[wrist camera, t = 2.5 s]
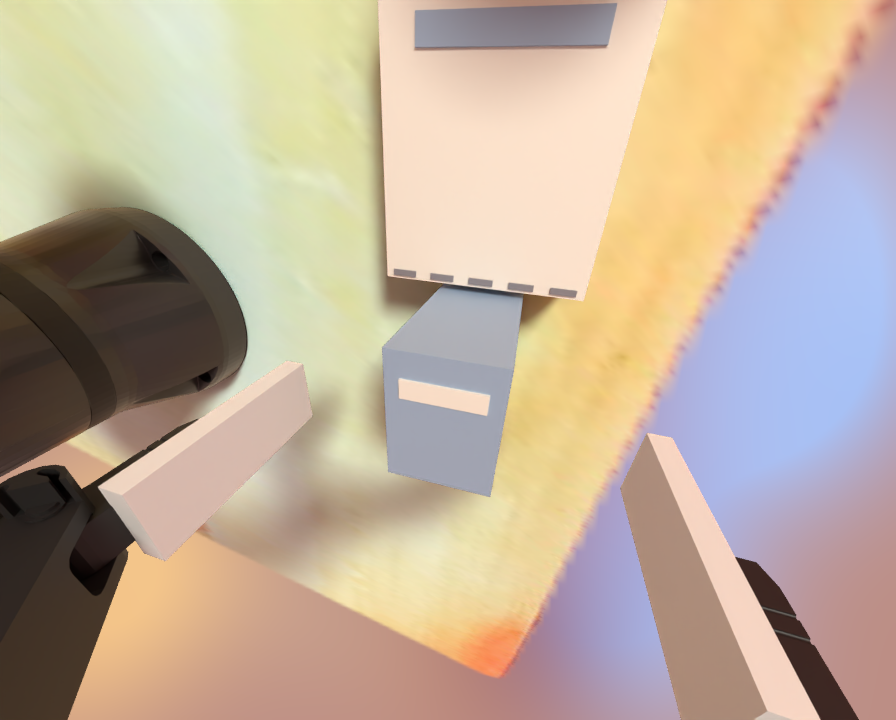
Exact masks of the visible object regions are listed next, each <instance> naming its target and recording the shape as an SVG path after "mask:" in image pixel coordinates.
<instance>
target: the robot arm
mask: <svg viewBox="0 0 896 720" xmlns="http://www.w3.org/2000/svg"><path fill="white" fill-rule="evenodd" d="M245 351H246V329H245V324H244V320H243V316H242V313H241V310H240V307H239V304H238V302H237V300H236V298H235V296H234V294H233V292H232V290H231V288H230V286H229V284H228V283H227V281H226V279H225V278H224V276H223V275H222V273H221V272H220V270H219V269H218V268H217V266H216V265H215V264H214V262H213V261H212V260H211V259H210V258H209V256H208V255H207V254H206V253H205V252H204V251H203V250H202V249H201V248H200V247H199V246H198V245H197V244H196V243H195V242H194V241H193V240H192V239H191V238H190V237H188V236H187V235H186V234H185V233H184V232H182V231H181V230H180V229H178V228H177V227H175V226H174V225H172V224H171V223H169V222H168V221H166V220H164V219H162V218H160V217H158V216H156V215H154V214H152V213H149V212H146V211H143V210H140V209H136V208H128V207H120V208H100V209H87V210H82V211H77V212H74V213H72V214H69V215H67V216H64V217H62V218H59V219H57V220H54V221H52V222H49V223H47V224H44V225H42V226H39V227H37V228H34V229H32V230H29V231H27V232H24V233H22V234H19V235H17V236H14V237H12V238H9V239H7V240H4V241H2V242H0V477H1V476H3V475H5V474H7V473H9V472H10V471H12V470H14V469H16V468H18V467H19V466H22V465H23V464H25V463H27V462H29V461H31V460H33V459H34V458H36V457H38V456H40V455H42V454H44V453H45V452H47V451H49V450H51V449H53V448H55V447H57V446H58V445H60V444H62V443H64V442H66V441H68V440H70V439H71V438H73V437H75V436H77V435H79V434H81V433H82V432H84V431H86V430H87V429H89V428H91V427H93V426H95V425H97V424H99V423H101V422H102V421H104V420H106V419H108V418H110V417H112V416H114V415H116V414H118V413H120V412H123V411H126V410H130V409H133V408H137V407H141V406H145V405H149V404H153V403H157V402H160V401H164V400H168V399H172V398H176V397H180V396H184V395H188V394H191V393H195V392H199V391H202V390H205V389H208V388H210V387H212V386H214V385H215V384H217V383H219V382H220V381H222V380H224V379H225V378H227V377H228V376H230V375H232V374H233V373H234V372H235V371H236V370H237V369H238V368H239V366H240V365H241V363H242V361H243V359H244V356H245ZM312 416H313V415H312V409H311V404H310V399H309V393H308V388H307V383H306V377H305V372H304V367H303V364H301V363H296V362H291V361H286V362H284V363H283V364H281V365H280V366H278V367H277V368H275V369H274V370H272V371H271V372H269V373H268V374H266V375H265V376H263V377H262V378H260V379H259V380H257V381H256V382H254V383H253V384H251V385H250V386H248V387H247V388H245V389H244V390H242V391H241V392H239V393H238V394H236V395H235V396H233V397H232V398H230V399H229V400H227V401H226V402H224V403H223V404H221V405H220V406H218V407H217V408H215V409H214V410H212V411H211V412H209V413H208V414H206V415H205V416H203V417H202V418H200V419H196V420H194V421H191V422H189V423H187V424H184V425H182V426H180V427H177V428H176V429H174V430H173V431H171V432H170V433H168V434H167V435H165V436H164V437H162V438H161V440H160V441H158V440H157V441H156V442H154V443H153V444H151V445H150V446H148V447H147V449H146V450H142V451H140V452H139V453H137V454H136V455H134V456H133V457H131V458H130V459H128V460H127V461H125V462H124V463H122V464H120V465H119V466H117V467H116V468H114V469H113V470H111V471H110V472H108V473H107V474H105V475H104V476H102V477H100V478H99V479H97V480H96V481H94V482H93V483H91V484H90V485H88V486H86V487H84V488H83V489H81V488H80V486H79V485H78V484H77V482H76V481H75V480H74V478H73V477H72V476H71V474H70V473H69V472H68V470H67V469H66V468H65V466H59V465H49V466H42V467H38V468H35V469H31V470H28V471H25V472H23V473H20V474H18V475H16V476H13V477H11V478H9V479H7V480H6V481H4V482H2V483H1V484H0V720H67V719H68V717H69V714H70V711H71V709H72V706H73V703H74V701H75V698H76V695H77V692H78V690H79V687H80V685H81V682H82V679H83V677H84V674H85V671H86V669H87V666H88V663H89V661H90V658H91V655H92V653H93V650H94V647H95V645H96V642H97V639H98V637H99V634H100V631H101V629H102V626H103V623H104V621H105V618H106V615H107V613H108V610H109V607H110V605H111V602H112V599H113V597H114V594H115V591H116V589H117V586H118V583H119V581H120V578H121V575H122V572H123V570H124V567H125V565H126V562H127V559H128V551H127V550H126V548H127V547H128V546H129V545H130V544H131V543H133V542H134V541H136V542H137V544H138V545H139V547H140V548H141V549H142V551H143V552H144V553H145V554H148V555H151V556H153V557H156V558H159V559H161V560H164V561H166V560H167V559H168V558H169V557H170V556H171V555H172V554H173V553H174V552H175V551H176V550H177V549H178V548H179V547H180V546H181V545H182V544H183V543H184V542H185V541H186V540H187V539H188V538H189V537H190V536H191V535H192V534H194V533H195V532H196V531H197V530H198V529H199V528H200V527H201V526H202V525H203V524H204V523H205V522H206V521H207V520H208V519H209V518H210V517H211V516H212V515H213V514H214V513H215V512H216V511H217V510H218V509H219V508H220V507H221V506H222V505H223V504H224V503H225V502H226V501H227V500H228V499H229V498H230V497H231V496H232V495H233V494H234V493H235V492H236V491H237V490H238V489H239V488H240V487H241V486H242V485H243V484H244V483H245V482H246V481H247V480H248V479H249V478H250V477H251V476H252V475H254V474H255V473H256V472H257V471H258V470H259V469H260V468H261V467H262V466H263V465H264V464H265V463H266V462H267V461H268V460H269V459H270V458H271V457H272V456H273V455H274V454H275V453H276V452H277V451H278V450H279V449H280V448H281V447H282V446H283V445H284V444H285V443H286V442H287V441H288V440H289V439H290V438H291V437H292V436H293V435H294V434H295V433H296V432H297V431H298V430H299V429H300V428H301V427H302V426H303V425H304V424H305V423H306V422H307V421H308V420H309V419H310V418H311V417H312ZM620 489H621V493H622V497H623V501H624V505H625V508H626V512H627V515H628V520H629V524H630V527H631V531H632V535H633V539H634V543H635V546H636V550H637V554H638V558H639V562H640V565H641V569H642V573H643V577H644V581H645V584H646V588H647V592H648V596H649V600H650V603H651V607H652V611H653V615H654V619H655V622H656V626H657V630H658V634H659V638H660V642H661V645H662V649H663V653H664V657H665V661H666V664H667V668H668V672H669V675H670V680H671V683H672V687H673V691H674V694H675V698H676V702H677V706H678V710H679V714H680V718H681V720H859V719H858V717H857V716H856V714H855V712H854V711H853V709H852V707H851V706H850V704H849V703H848V701H847V699H846V697H845V696H844V694H843V692H842V691H841V689H840V687H839V686H838V684H837V682H836V681H835V679H834V677H833V676H832V674H831V672H830V671H829V669H828V667H827V666H826V664H825V662H824V661H823V659H822V657H821V656H820V654H819V652H818V651H817V649H816V647H815V646H814V645H812V644H811V642H810V637H809V636H808V634H807V632H806V631H805V629H804V627H803V626H802V624H801V622H800V621H798V620H797V619H796V614H795V612H794V611H793V609H792V607H791V605H790V604H789V602H788V600H787V599H786V597H785V595H784V594H783V592H782V591H781V589H780V587H779V586H778V585H777V584H776V583H775V582H774V581H773V580H772V579H771V578H770V577H769V576H768V575H767V573H766V572H765V571H764V570H763V569H762V568H761V567H760V566H759V565H758V564H757V563H756V562H753V561H749V560H745V559H741V558H737V557H735V556H734V554H733V553H732V551H731V549H730V547H729V545H728V543H727V541H726V539H725V537H724V536H723V534H722V532H721V530H720V528H719V526H718V524H717V522H716V520H715V518H714V516H713V515H712V513H711V511H710V509H709V507H708V505H707V503H706V501H705V500H704V498H703V496H702V494H701V492H700V490H699V488H698V486H697V484H696V482H695V481H694V479H693V477H692V475H691V473H690V471H689V469H688V467H687V465H686V463H685V462H684V460H683V458H682V456H681V454H680V452H679V450H678V448H677V446H676V445H675V442H674V441H673V439H672V438H670V437H665V436H660V435H655V434H650V433H647V434H646V436H645V438H644V440H643V442H642V444H641V446H640V448H639V450H638V453H637V455H636V457H635V459H634V461H633V463H632V465H631V467H630V469H629V471H628V473H627V476H626V478H625V480H624V482H623V484H622V486H621V488H620Z"/></svg>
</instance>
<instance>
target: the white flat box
mask: <svg viewBox="0 0 896 720" xmlns="http://www.w3.org/2000/svg"><path fill="white" fill-rule="evenodd" d="M666 3H667V0H378V18H379V46H380V74H381V102H382V131H383V159H384V187H385V215H386V243H387V272H388V276H391V277H399V278H407V279H414V280H422V281H430V282H438V283H446V284H454V285H462V286H470V287H477V288H485V289H493V290H501V291H509V292H517V293H525V294H532V295H540V296H548V297H556V298H564V299H572V300H580V301H584V297H585V294H586V290H587V287H588V283H589V279H590V276H591V272H592V269H593V265H594V261H595V258H596V254H597V251H598V247H599V243H600V240H601V236H602V233H603V229H604V225H605V222H606V218H607V215H608V211H609V207H610V204H611V200H612V197H613V193H614V190H615V186H616V182H617V179H618V175H619V172H620V168H621V164H622V161H623V157H624V154H625V150H626V146H627V143H628V139H629V136H630V132H631V128H632V125H633V121H634V118H635V114H636V111H637V107H638V103H639V100H640V96H641V93H642V89H643V85H644V82H645V78H646V75H647V71H648V67H649V64H650V60H651V57H652V53H653V49H654V46H655V42H656V39H657V35H658V32H659V28H660V24H661V21H662V17H663V14H664V10H665V6H666Z"/></svg>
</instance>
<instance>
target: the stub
mask: <svg viewBox="0 0 896 720" xmlns="http://www.w3.org/2000/svg"><path fill="white" fill-rule="evenodd" d="M523 294H524V293H517V292H509V291H501V290H493V289H485V288H477V287H470V286H462V285H454V284H446V283H444V284H443V285H442V286H441V287H440V288H439V289H438V290H437V291H436V292H435V293H434V294H433V296H432V297H431V298H430V299H429V300H428V301H427V302H426V303H425V304H424V305H423V306H422V307H421V308H420V309H419V310H418V311H417V312H416V313H415V314H414V315H413V316H412V317H411V318H410V319H409V320H408V321H407V322H406V323H405V324H404V325H403V326H402V327H401V329H400V330H399V331H398V332H397V333H396V334H395V335H394V336H393V337H392V338H391V339H390V340H389V341H388V342H387V343H386V344H385V345H384V346H383V347H382V355H383V376H384V396H385V416H386V436H387V456H388V472H391V473H395V474H399V475H403V476H407V477H411V478H415V479H419V480H423V481H427V482H431V483H435V484H439V485H444V486H448V487H452V488H456V489H460V490H464V491H468V492H472V493H476V494H480V495H484V496H488V497H490V495H491V490H492V484H493V479H494V474H495V468H496V463H497V458H498V452H499V447H500V442H501V436H502V431H503V426H504V420H505V415H506V410H507V404H508V399H509V394H510V388H511V383H512V378H513V372H514V365H515V358H516V350H517V342H518V334H519V326H520V318H521V310H522V302H523Z"/></svg>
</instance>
